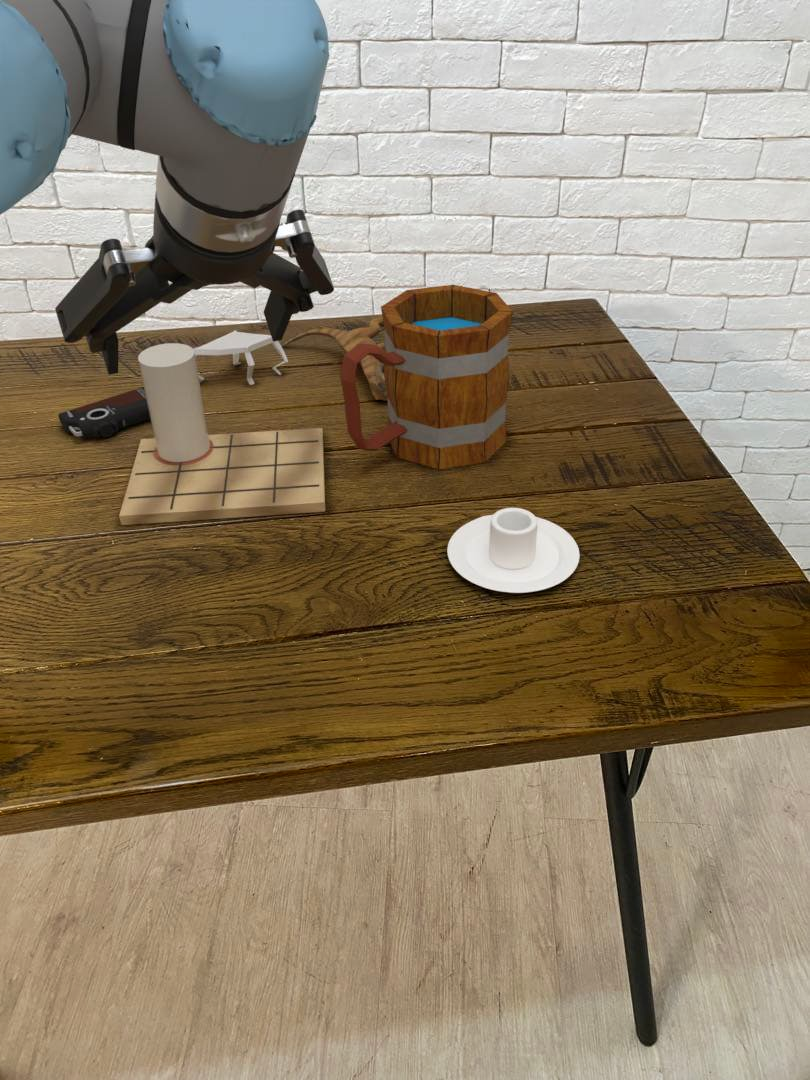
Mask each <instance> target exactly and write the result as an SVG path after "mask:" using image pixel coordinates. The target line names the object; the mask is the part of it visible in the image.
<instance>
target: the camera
mask: <svg viewBox="0 0 810 1080" xmlns="http://www.w3.org/2000/svg"><path fill="white" fill-rule="evenodd" d="M58 420H59V422H60V424H61V426H62V427H63V428H64V429H65V431H66V432H67V433H68V434H73V436H75V437H82V438H84V439H86V438H88V439H90V440H92V439H95V438H100V437H102V438H104V439H105V438H110V437H112V436H113V434H114V433H115V432H119V430H121V429H125V428H127V427H130V426H133V425H136V424H139V423H143V422H145V421H148V420H151V419H150V414H149V409H148V405H147V400H146V395H145V390H144V386H142V387H138V388H135V389H132V390H129V391H125V392H123V393H119V394H116V395H114V396H111V397H107V398H104V399H101V400H98V401H95V402H91V403H88V404H85V405H82V406H79V407H75V408H72V409H69V410H66V411H62V412H60V413H58Z"/></svg>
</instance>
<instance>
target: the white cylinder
mask: <svg viewBox="0 0 810 1080" xmlns="http://www.w3.org/2000/svg"><path fill="white" fill-rule="evenodd" d="M193 349H194V347H192V346H190V345H188V344H184V343H177V342H176V343H175V342H169V343H161V344H155V345H153V346H149V347H148V348H145V349H144V350H143V351H141V352H140V353H139V354H138V356H137V361H138V365H139V371H140V375H141V380H142V385H143V387H144V390H145V395H146V400H147V405H148V409H149V414H150V419H149V420H150V425H151V428H152V433H153V438H155V443H156V448H157V453H158V455H159V457H161V458H162V459H164V460H166V461H170V462H187V461H192V460H195V459H198V458H200V457H202V456H203V455H205V454H206V453H207V452H208V451H209V449H210V441H209V435H210V434H209V431H208V424H207V417H206V412H205V405H204V400H203V395H202V394H203V393H202V389H201V383H200V382H199V380H200V379H199V376H198V375H199V370H198V365H197V359H196V358H195V352H194V350H193Z"/></svg>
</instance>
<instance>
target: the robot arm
mask: <svg viewBox="0 0 810 1080" xmlns="http://www.w3.org/2000/svg"><path fill="white" fill-rule="evenodd" d="M329 43H330V42H329V34H328V28H327V25H326V21H325V18H324V16H323V13H322V10H321V8H320V7H319V4H318V3H317V1H316V0H0V216H1V215H2V214H4V213H6V212H7V211H9V210H10V209H12V208H13V207H14V206H15V205H17V204H18V203H19V202H20V201H21V200H23V199H24V198H26V197H27V196H29V195H30V194H32V193H34V192H35V191H36V190H37V189H38V188H39V187H41V186H42V185H43V184H44V182H45V181H46V179H47V178H48V177H49V176H50V175H51V174H52V173H53V172H54V171H55V169H56V167H57V165H58V162H59V159H60V157H61V154H62V152H63V151H64V150H65V149H66V146H67V143H68V140H69V138H71V136H72V135H73V136H76V137H82V138H85V139H89V140H93V141H98V142H101V143H104V144H109V145H112V146H117V147H120V148H123V149H128V150H132V151H139V152H143V153H145V154H146V153H147V154H150V155H155V156H157V157H158V158H157V166H156V178H155V195H154V211H153V223H152V224H153V225H152V226H153V227H152V229H153V230H152V236H151V237H150V238H149V239H148V240H147V241H146V243H145V245H144V247H139V248H130V249H126V248H123V246H122V243H121V241H120V240H119V239H117V238H108V239H107V240H106V239H105V240H103V242H101V243H100V248H99V254H98V258H97V259H96V260H95V261H94V262H93V264H92V265H91V266H90V267H89V268H88V270H87V271H85V273H84V274H83V275H82V276H81V277H80V279H79V280H78V281H77V282H76V283H75V284H74V286H73V287H72V288H71V289H70V290H69V292H67V293H66V295H65V296H64V297H63V298H62V299H61V301H59V303H58V304H57V305H56V306H55V308H54V310H55V313H56V317H57V321H58V324H59V327H60V330H61V334H62V337H63V341H64V342H65V343H67V344H73V343H78V342H79V341H81V340H82V339H83V338H84V337H85V338H86V343H87V345H88V348H89V349H88V350H89V352H91V353H92V354H96V353H101V354H102V358H103V361H104V364H105V368H106V370H107V374H108V376H111V375H115V374H119V336H118V334H117V332H119V331H120V330H121V329H123V328H125V327H126V326H127V325H129V324H130V323H132V322H133V321H135V320H137V319H138V318H139V317H142V315H144V314H146V313H147V312H149V311H150V310H151V309H153V308H155V307H156V306H157V305H159V304H161V303H163V304H167V305H168V304H169V305H171V304H173V303H174V302H176V301H177V300H179V299H180V298H182V297H183V296H185V295H187V294H189V292H191V291H192V290H194V291H199V290H200V289H202V288H205V287H208V286H212V285H219V286H220V285H221V286H223V285H233V284H238V283H241V284H244V285H246V286H249V287H250V288H253V289H256V288H257V289H258V287H262V288H265V289H266V290H269V291H270V292H269V295H268V298H267V301H266V303H265V307H264V308H263V309H264V310H263V315H264V319H265V321H266V324H267V327H268V330H269V333H270V334H269V335H271V337H272V340H273V342H274V341H279V342H280V341H282V340H283V338H284V335H285V333H286V331H287V329H288V325H289V323H290V321H291V319H292V316H293V315H296V314H299V312H300V313H304V312H305V313H306V312H309V311H311V310H312V309H313V308H314V307H315V306H314V305H315V304H314V302H313V300H312V297H311V294H313V293H316V292H317V293H318V294H319V295H320V296H328V295H330V294H332V293H333V292H334V291H335V287H334V284H333V281H332V279H331V275H330V272H329V270H328V267H327V263H326V260H325V258H324V257H323V256H322V254H321V252H320V251H319V249H318V248H317V246H316V245H315V241H314V238H313V234H312V232H311V228H310V226H309V223H308V221H307V217H306V215H305V211H304V210H302V209H295V210H292V211H290V212H289V213H288V214H287V215H286V219H285V220H286V221H285V222H281V220H282V216H283V213H284V210H285V207H286V203H287V201H288V197H289V195H290V191H291V188H292V185H293V181H294V179H295V176H296V173H297V169H298V167H299V163H300V161H301V157H302V155H303V152H304V149H305V146H306V143H307V139H308V137H309V134H310V131H311V129H312V128H313V126H314V125H315V122H316V119H317V110H318V108H319V107H318V106H319V100H320V96H321V92H322V87H323V84H324V80H325V75H326V70H327V67H328V62H329V58H330V46H329V45H330V44H329ZM276 247H280V248H281V250H282V251H284V252H285V251H287V254H288V257H289V258H290V259H295V262H296V263H297V264H295V263H293V262H291V261H289V260H288V259H286V258H285V257H282V256H281V255H278V254H277V253H275V252H274V251H275V249H276Z"/></svg>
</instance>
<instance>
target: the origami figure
mask: <svg viewBox="0 0 810 1080" xmlns="http://www.w3.org/2000/svg"><path fill="white" fill-rule="evenodd" d="M269 344H270V345H272V346H273V348H274V349H275V350H276V351H277V352H278V354H279V356H280V357H281V359H282V360H283V361H281V362H279V363H277V364H276V365H274V366H273V367H271V369H272V370H273V371H274V372H275V373H276V374H277V375H279V376H281V375H282V372H281V371H280V370H278V367H280V366H282V365H285V364H286V363H288V362H289V360H288V357H287V355H286V352H285V351H284V349H283V346H282V345H281V342H280V340H279V341H274V342H273V340H272V337H271V334H263V333H261V334H260V333H250V332H242V331H237V329H235V330H233V331H232V332H229V333H228V334H225V335H223V336H221V337H218V338H216V339H214V340H211V341H209V342H207V343H205V344H202V345H200V346H197V347H193V350H194V352H195V358H196V360H197V359H199V357H201V356H226V355H227V356H228V355H232V365H234V366H237V367H238V366H240V365H242V362H239V359H240V354H244V357H245V360H246V363H247V372H246V380H247V383H248V385H250V386H253V385H255V384H256V383H255V381H254V379H253V377H252V376H253V373H254V370H255V365H256V364H255V360H254V358H253V355H252V354H251V352H253V351H255V350H257V349H261V348H262V347H265V346H268V345H269ZM198 376H199V382H200V384H201V383H202V382H204V380H205V378H204V377H203V376H202V375H200V374H198Z"/></svg>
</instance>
